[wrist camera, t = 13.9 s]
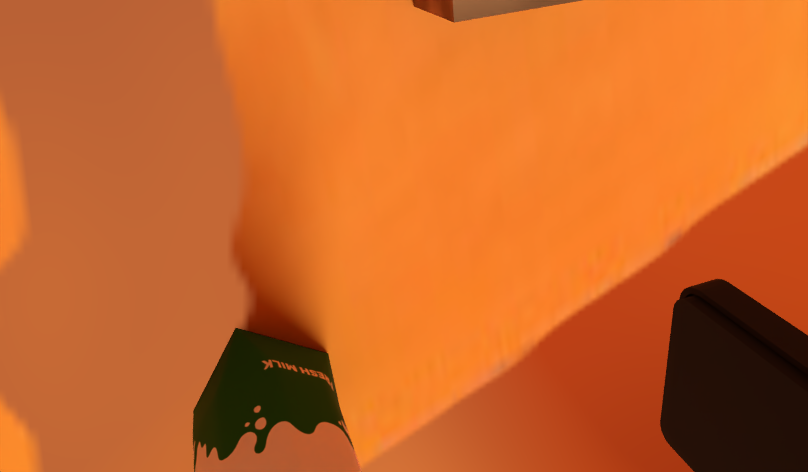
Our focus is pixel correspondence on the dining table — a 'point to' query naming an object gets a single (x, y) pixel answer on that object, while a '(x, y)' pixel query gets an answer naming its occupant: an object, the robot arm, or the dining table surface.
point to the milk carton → (271, 411)
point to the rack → (480, 7)
